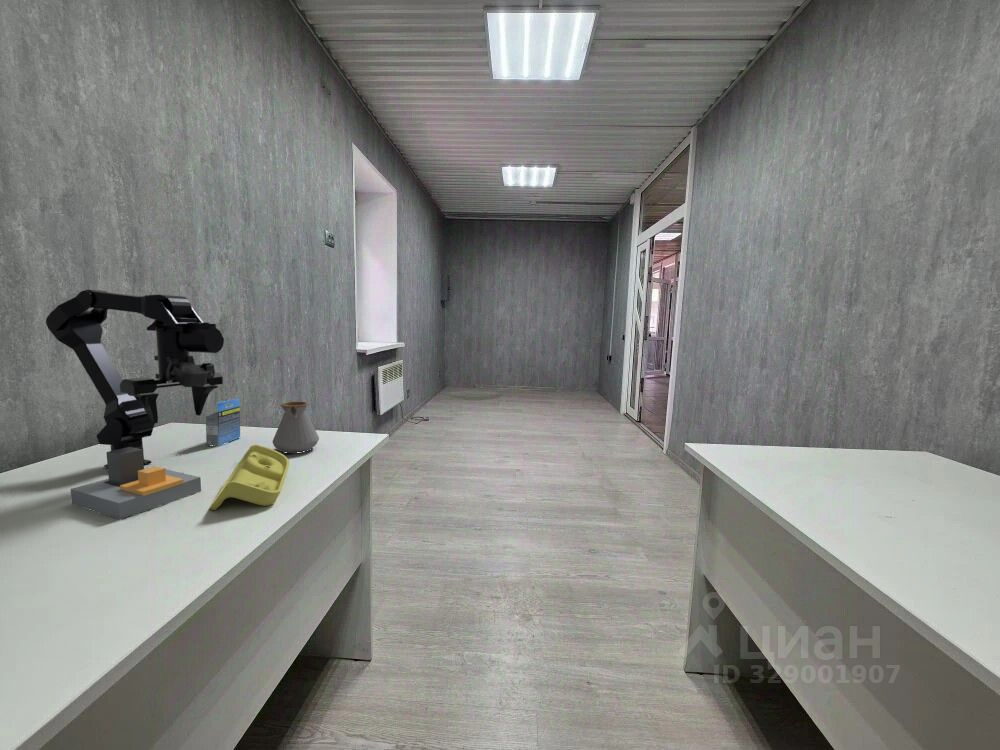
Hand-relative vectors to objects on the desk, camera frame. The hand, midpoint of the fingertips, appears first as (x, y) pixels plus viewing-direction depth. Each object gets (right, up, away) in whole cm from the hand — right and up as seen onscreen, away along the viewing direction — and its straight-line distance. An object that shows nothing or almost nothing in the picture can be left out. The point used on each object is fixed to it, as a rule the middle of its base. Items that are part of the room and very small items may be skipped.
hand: (177, 419), depth 99 cm
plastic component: (+24, -14, -10) cm, 29 cm away
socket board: (+3, -14, -14) cm, 20 cm away
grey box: (0, -14, -13) cm, 19 cm away
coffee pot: (+21, -11, +14) cm, 27 cm away
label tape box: (-5, -9, +24) cm, 26 cm away
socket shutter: (+8, -11, -16) cm, 21 cm away
